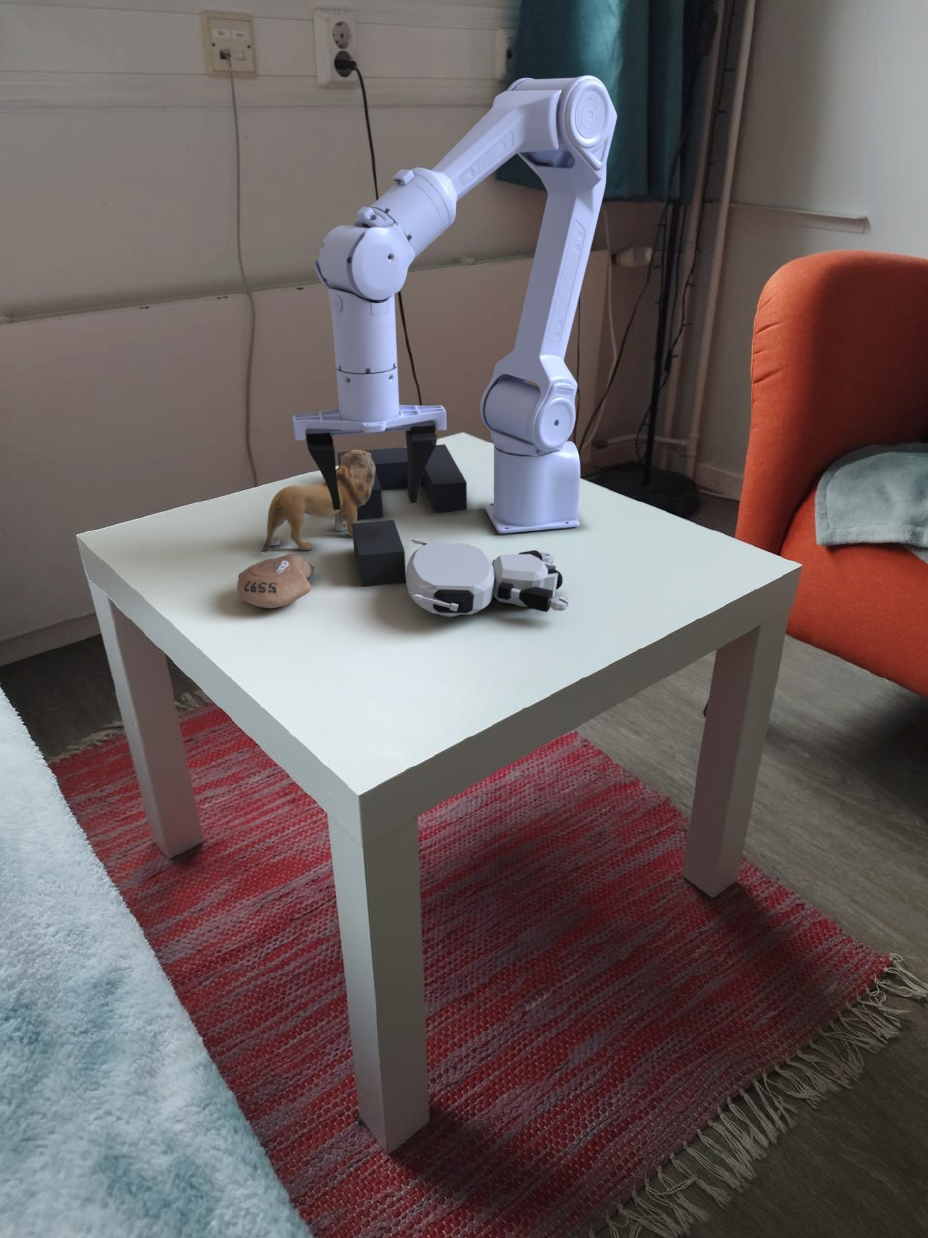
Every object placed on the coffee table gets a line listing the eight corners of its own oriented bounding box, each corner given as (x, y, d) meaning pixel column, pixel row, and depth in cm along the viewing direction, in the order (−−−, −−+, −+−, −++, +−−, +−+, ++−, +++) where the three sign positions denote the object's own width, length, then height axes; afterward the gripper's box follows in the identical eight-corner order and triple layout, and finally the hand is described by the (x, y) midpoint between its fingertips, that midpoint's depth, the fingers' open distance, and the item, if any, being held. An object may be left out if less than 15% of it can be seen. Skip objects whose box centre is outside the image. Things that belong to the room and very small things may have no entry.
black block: (395, 549, 98) (394, 519, 96) (406, 582, 91) (404, 550, 89) (354, 553, 97) (351, 523, 95) (361, 586, 90) (359, 555, 89)
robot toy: (550, 577, 94) (405, 572, 92) (555, 537, 91) (406, 532, 90) (569, 637, 83) (405, 633, 82) (575, 594, 81) (407, 589, 79)
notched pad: (445, 469, 119) (445, 443, 117) (466, 509, 107) (466, 482, 105) (339, 477, 117) (337, 451, 115) (349, 520, 105) (346, 491, 103)
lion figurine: (363, 514, 106) (358, 440, 102) (389, 528, 103) (385, 452, 98) (251, 549, 98) (240, 470, 94) (275, 565, 95) (264, 484, 90)
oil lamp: (339, 608, 88) (308, 577, 94) (340, 570, 86) (309, 541, 92) (249, 621, 84) (223, 588, 90) (249, 582, 82) (223, 550, 88)
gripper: (289, 382, 79) (303, 524, 86) (451, 372, 82) (453, 512, 88) (286, 362, 85) (300, 497, 92) (437, 354, 88) (440, 486, 94)
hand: (374, 502), depth 91 cm, fingers open, 7 cm apart
